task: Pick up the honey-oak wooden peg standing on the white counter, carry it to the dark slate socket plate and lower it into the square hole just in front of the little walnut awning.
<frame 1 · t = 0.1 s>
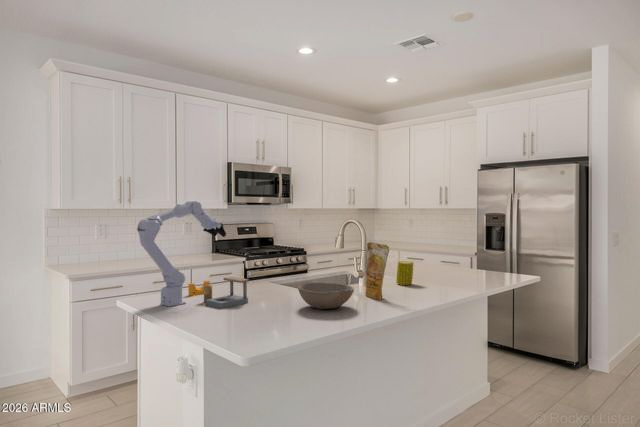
hand: (220, 235, 233), 32 cm above the countertop, tool tilted 50°, fingers open, 7 cm apart
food: (404, 284, 265), on the countertop
peg: (208, 301, 216), on the countertop
bowl: (325, 308, 204), on the countertop
pancake mix bag: (375, 297, 228), on the countertop
pipe clamp: (198, 294, 237), on the countertop
socket plate: (227, 303, 212), on the countertop
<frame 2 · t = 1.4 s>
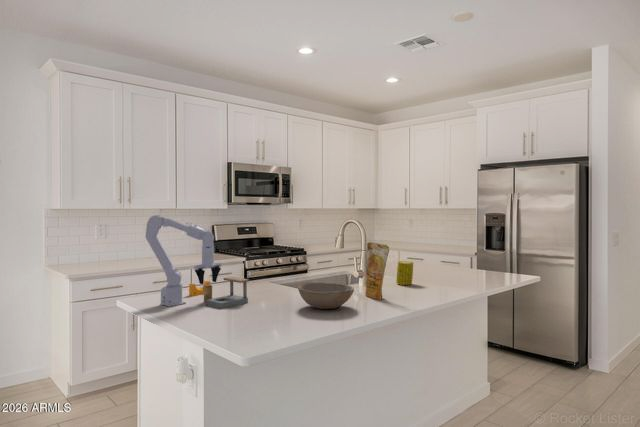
hand: (208, 282, 216), 9 cm above the countertop, tool pointing down, fingers open, 7 cm apart
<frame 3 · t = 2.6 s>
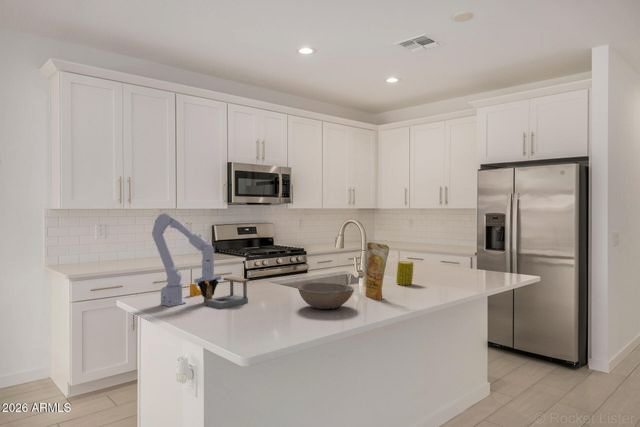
hand: (208, 295, 216), 3 cm above the countertop, tool pointing down, fingers closed on peg, 4 cm apart
peg: (208, 301, 216), on the countertop, touching gripper
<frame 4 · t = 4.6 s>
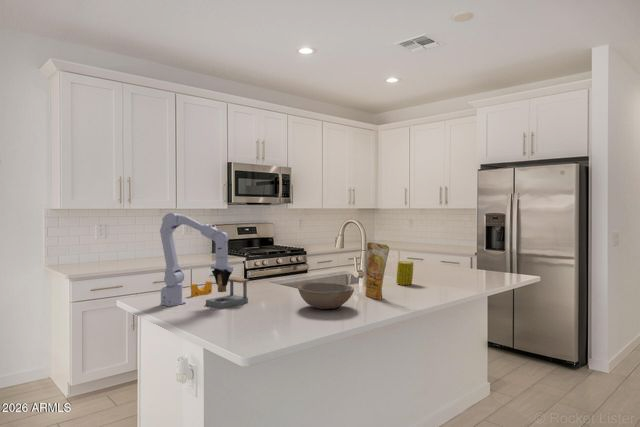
hand: (221, 285, 209), 9 cm above the countertop, tool pointing down, fingers closed on peg, 4 cm apart
peg: (221, 291, 210), point 7 cm above the countertop, touching gripper
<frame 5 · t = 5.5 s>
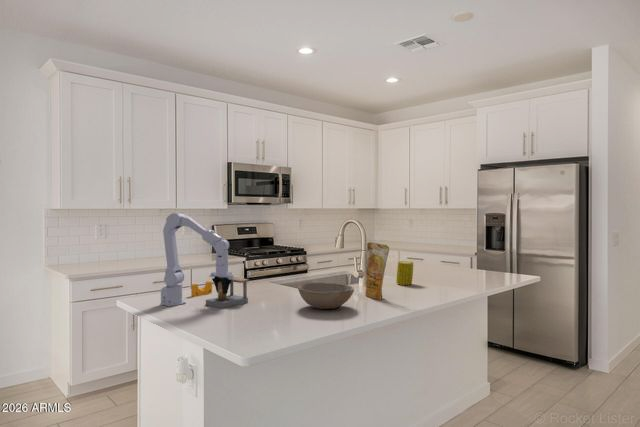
hand: (222, 293, 209), 6 cm above the countertop, tool pointing down, fingers closed on peg, 4 cm apart
peg: (222, 299, 209), point 3 cm above the countertop, touching gripper
when the fingers open (4 cm above the countertop, at t = 6.4 s): peg stays where it is, resting in socket plate.
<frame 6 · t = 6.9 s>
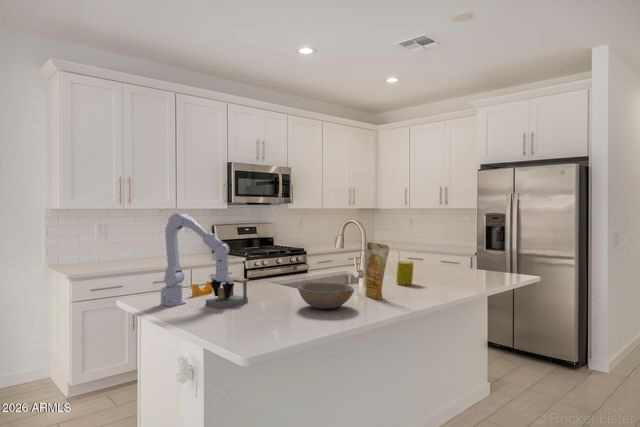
hand: (222, 297, 209), 4 cm above the countertop, tool pointing down, fingers open, 7 cm apart
peg: (222, 305, 210), resting in socket plate
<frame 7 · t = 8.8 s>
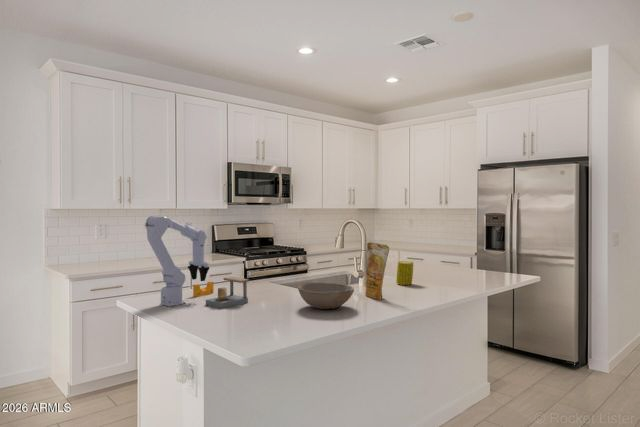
hand: (198, 280, 224), 9 cm above the countertop, tool pointing down, fingers open, 7 cm apart
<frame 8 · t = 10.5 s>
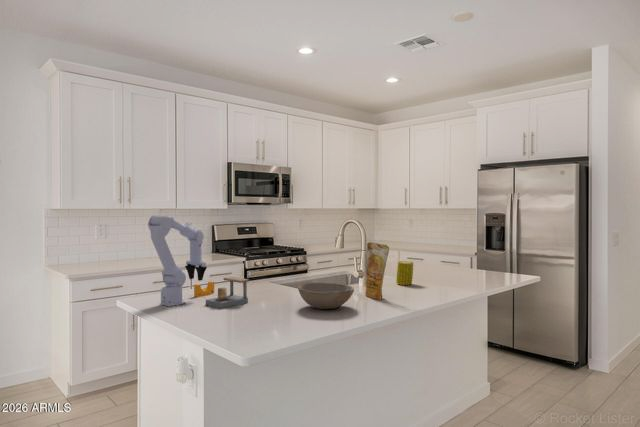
hand: (195, 279, 226), 9 cm above the countertop, tool pointing down, fingers open, 7 cm apart
at the end: peg 0.1 cm from the target spot on the socket plate, point 0.0 cm above the socket plate's base; peg tilted 0°; the gripper is holding nothing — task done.
